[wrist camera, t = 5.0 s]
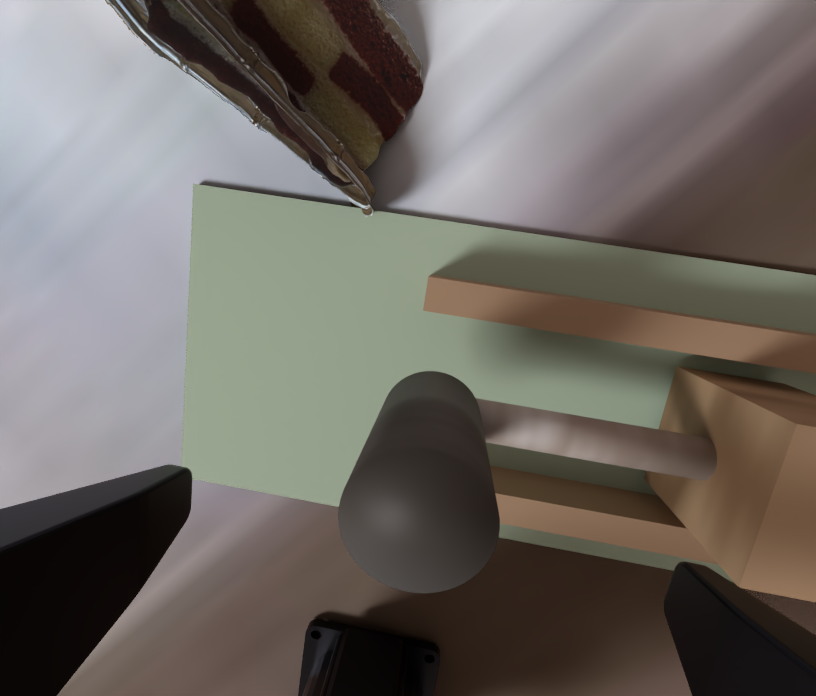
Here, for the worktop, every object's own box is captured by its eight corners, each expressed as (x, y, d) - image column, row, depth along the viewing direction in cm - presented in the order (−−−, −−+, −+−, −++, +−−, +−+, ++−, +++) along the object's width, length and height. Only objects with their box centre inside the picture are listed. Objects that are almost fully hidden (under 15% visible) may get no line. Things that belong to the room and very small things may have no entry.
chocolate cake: (501, 88, 17) (283, -511, 8) (386, 230, 16) (12, -239, 7) (362, 80, 23) (150, -260, 14) (275, 183, 23) (-1, -103, 14)
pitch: (1106, 649, 18) (1211, 711, 16) (184, 473, 21) (147, 503, 18) (1283, 344, 16) (1444, 361, 13) (197, 185, 18) (156, 173, 16)
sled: (745, 497, 18) (1071, 762, 8) (388, 433, 19) (325, 609, 9) (784, 383, 17) (1203, 542, 7) (404, 321, 18) (353, 394, 8)
